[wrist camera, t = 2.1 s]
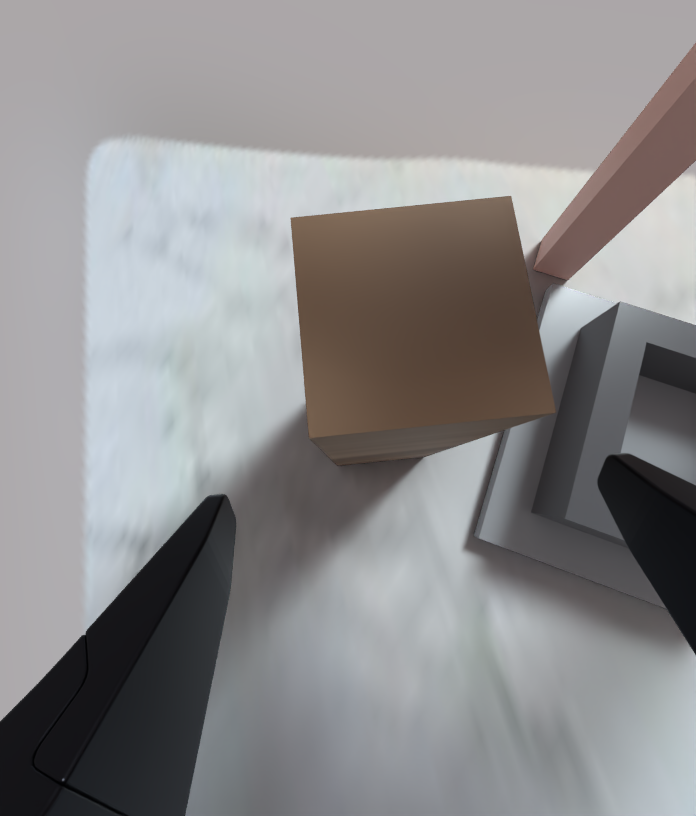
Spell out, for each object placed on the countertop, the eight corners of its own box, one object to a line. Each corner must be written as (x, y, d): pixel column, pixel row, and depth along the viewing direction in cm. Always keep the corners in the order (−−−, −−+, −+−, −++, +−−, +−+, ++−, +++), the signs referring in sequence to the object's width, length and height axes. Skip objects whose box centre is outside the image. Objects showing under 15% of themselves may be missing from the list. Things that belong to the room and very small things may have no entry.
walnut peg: (424, 456, 20) (556, 412, 7) (337, 465, 20) (309, 437, 7) (412, 373, 21) (511, 195, 8) (329, 381, 20) (290, 217, 8)
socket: (762, 644, 18) (871, 688, 14) (473, 536, 19) (503, 549, 15) (804, 372, 20) (906, 348, 16) (545, 290, 21) (586, 249, 18)
